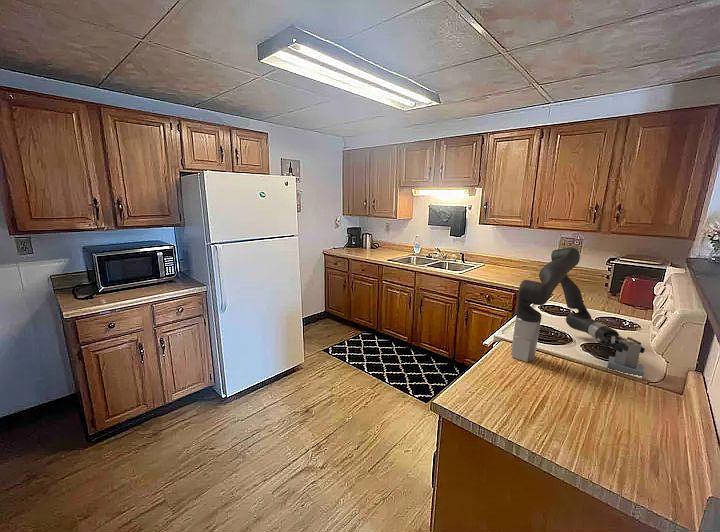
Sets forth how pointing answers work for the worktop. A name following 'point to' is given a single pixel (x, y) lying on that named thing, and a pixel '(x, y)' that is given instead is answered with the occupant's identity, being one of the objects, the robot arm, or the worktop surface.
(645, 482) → the worktop surface
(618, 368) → the coupler plate
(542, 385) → the worktop surface
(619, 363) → the block
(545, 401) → the worktop surface
